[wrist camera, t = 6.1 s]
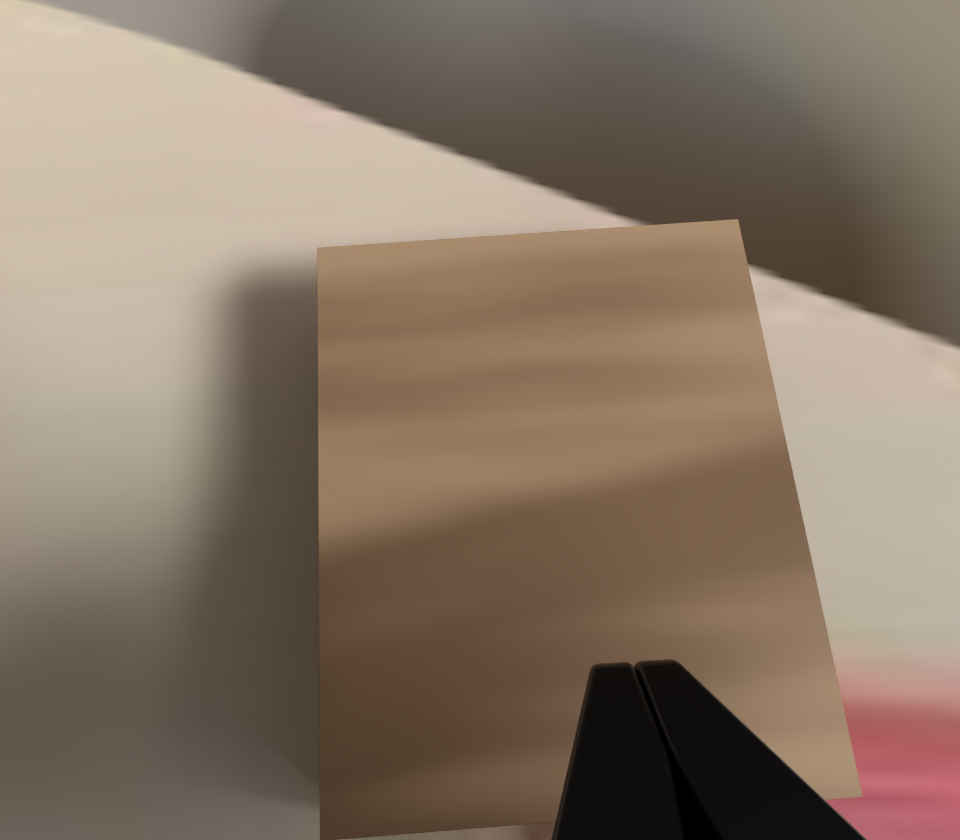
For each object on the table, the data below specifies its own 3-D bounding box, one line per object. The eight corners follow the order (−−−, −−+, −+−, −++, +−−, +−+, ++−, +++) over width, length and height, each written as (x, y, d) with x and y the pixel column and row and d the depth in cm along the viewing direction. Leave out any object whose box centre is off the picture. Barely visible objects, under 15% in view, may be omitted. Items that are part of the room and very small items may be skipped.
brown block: (862, 796, 12) (737, 219, 15) (320, 840, 12) (317, 248, 15) (783, 777, 15) (694, 302, 18) (355, 812, 15) (346, 326, 18)
